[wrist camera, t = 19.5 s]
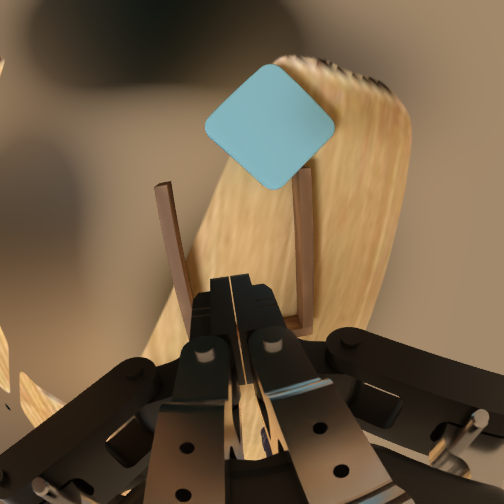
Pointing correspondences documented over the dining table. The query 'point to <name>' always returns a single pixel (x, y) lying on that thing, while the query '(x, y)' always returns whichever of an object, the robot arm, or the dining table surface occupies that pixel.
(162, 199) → the walnut frame
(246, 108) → the data package
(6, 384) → the dining table surface
